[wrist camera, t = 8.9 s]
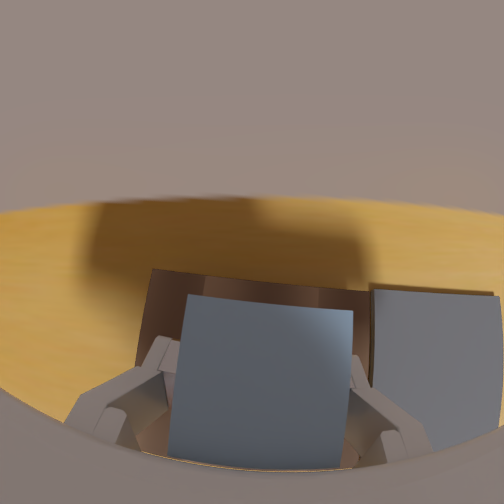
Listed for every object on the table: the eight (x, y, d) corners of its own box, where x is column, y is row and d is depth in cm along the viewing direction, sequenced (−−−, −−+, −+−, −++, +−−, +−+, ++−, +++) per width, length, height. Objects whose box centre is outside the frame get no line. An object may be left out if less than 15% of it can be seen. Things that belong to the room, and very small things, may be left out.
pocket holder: (144, 435, 13) (127, 446, 11) (165, 285, 17) (152, 268, 15) (339, 454, 13) (357, 467, 11) (350, 304, 17) (369, 291, 15)
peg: (210, 406, 13) (167, 456, 4) (218, 339, 14) (187, 293, 6) (280, 413, 13) (339, 467, 4) (287, 346, 14) (352, 310, 6)
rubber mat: (358, 465, 13) (362, 467, 12) (370, 291, 18) (374, 288, 17) (493, 427, 13) (497, 428, 12) (495, 298, 18) (499, 296, 17)
